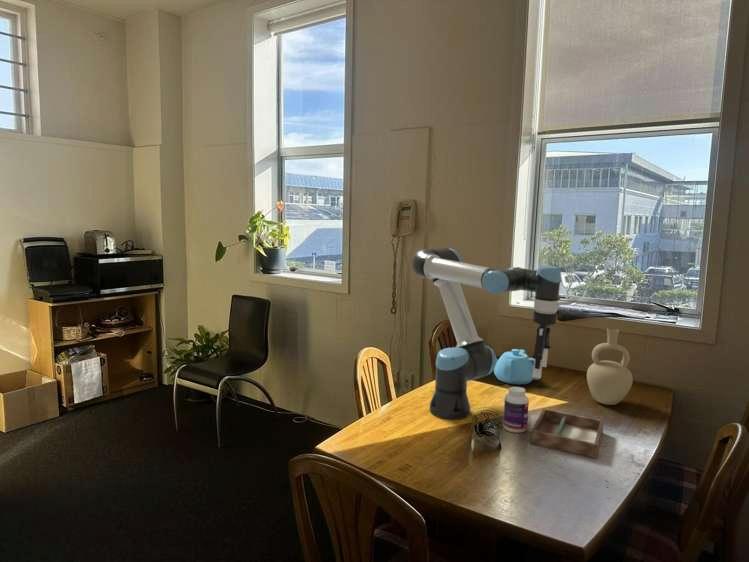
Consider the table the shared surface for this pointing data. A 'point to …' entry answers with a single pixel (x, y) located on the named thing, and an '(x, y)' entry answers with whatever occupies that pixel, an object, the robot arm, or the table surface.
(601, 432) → the crate
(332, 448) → the table surface
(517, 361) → the teapot
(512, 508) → the table surface
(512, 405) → the pill bottle
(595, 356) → the vase
